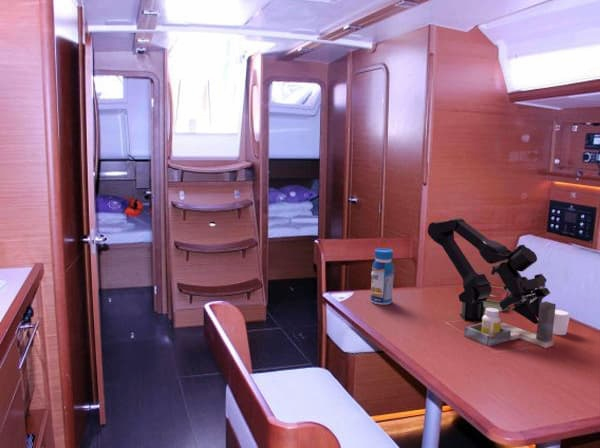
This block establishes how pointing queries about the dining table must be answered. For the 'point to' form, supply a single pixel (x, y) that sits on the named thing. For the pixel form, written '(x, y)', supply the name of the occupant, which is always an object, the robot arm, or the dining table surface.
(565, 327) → the shot glass
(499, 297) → the hardcover book
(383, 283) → the beverage bottle
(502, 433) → the dining table surface
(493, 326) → the supplement bottle
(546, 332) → the tray with upright post
